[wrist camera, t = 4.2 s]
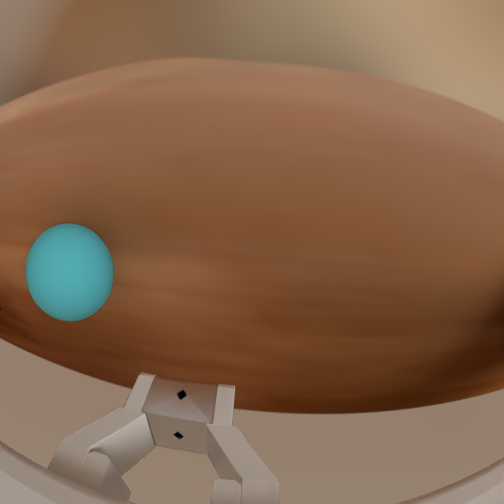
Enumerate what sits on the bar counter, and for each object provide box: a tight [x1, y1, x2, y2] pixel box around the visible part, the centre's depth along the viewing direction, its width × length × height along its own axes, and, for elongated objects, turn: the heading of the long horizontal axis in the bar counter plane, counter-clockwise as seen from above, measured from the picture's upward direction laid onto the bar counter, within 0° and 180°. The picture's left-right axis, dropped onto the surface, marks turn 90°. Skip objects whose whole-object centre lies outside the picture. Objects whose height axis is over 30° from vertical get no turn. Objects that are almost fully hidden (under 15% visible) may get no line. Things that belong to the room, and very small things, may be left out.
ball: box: [25, 223, 114, 321], centre depth 15 cm, size 6×6×6 cm
